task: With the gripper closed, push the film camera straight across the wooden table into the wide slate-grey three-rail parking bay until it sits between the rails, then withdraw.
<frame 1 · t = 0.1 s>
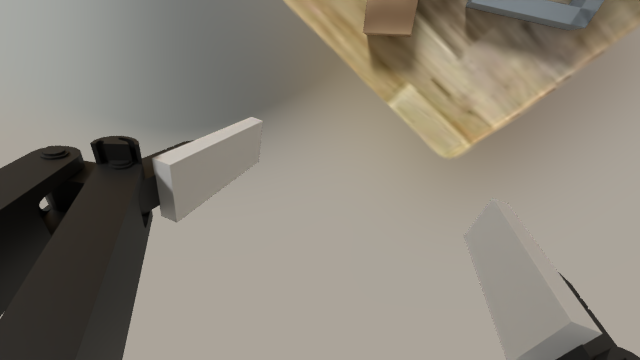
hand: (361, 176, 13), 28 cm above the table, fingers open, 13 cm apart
oak chock block: (390, 18, 32), on the table
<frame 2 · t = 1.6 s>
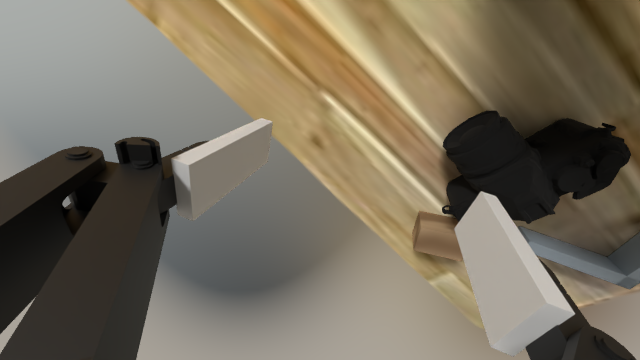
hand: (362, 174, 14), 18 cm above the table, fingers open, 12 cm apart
film camera: (489, 148, 28), on the table
oak chock block: (437, 226, 34), on the table
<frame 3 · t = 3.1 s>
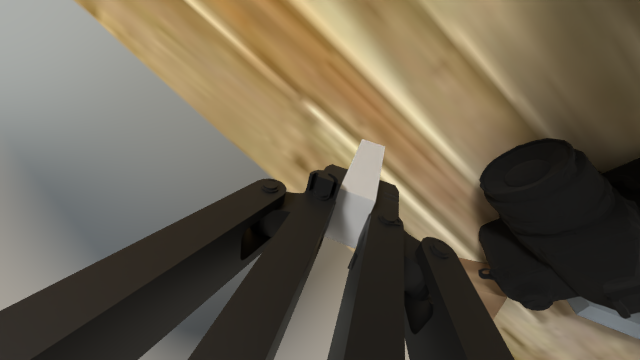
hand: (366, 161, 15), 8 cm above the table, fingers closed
film camera: (543, 185, 20), on the table
oak chock block: (456, 270, 27), on the table
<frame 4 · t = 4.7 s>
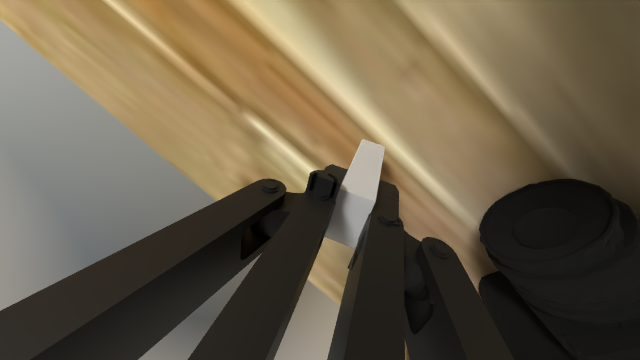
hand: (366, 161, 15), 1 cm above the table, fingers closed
film camera: (562, 232, 16), on the table
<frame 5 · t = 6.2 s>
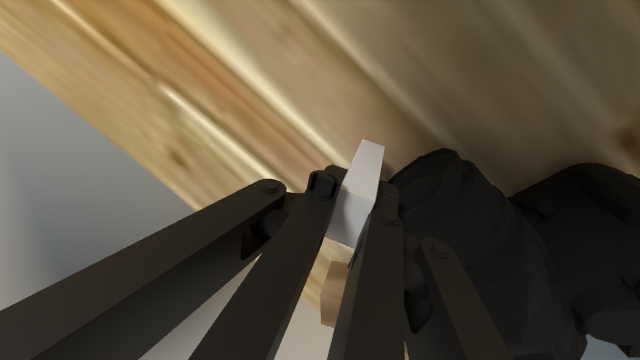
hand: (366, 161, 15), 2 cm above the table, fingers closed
film camera: (459, 203, 17), on the table, touching gripper
oak chock block: (362, 280, 23), on the table
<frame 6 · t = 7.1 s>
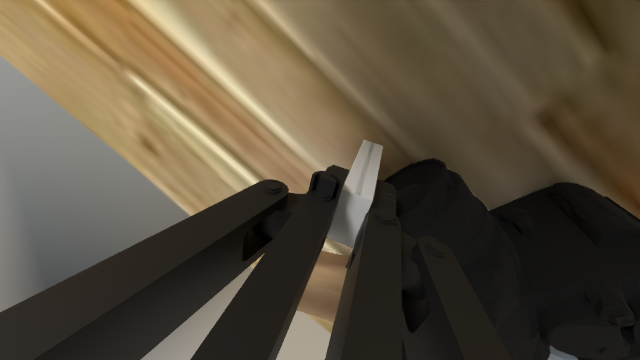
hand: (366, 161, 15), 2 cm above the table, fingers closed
film camera: (445, 212, 17), on the table, touching bay, gripper
oak chock block: (324, 265, 24), on the table
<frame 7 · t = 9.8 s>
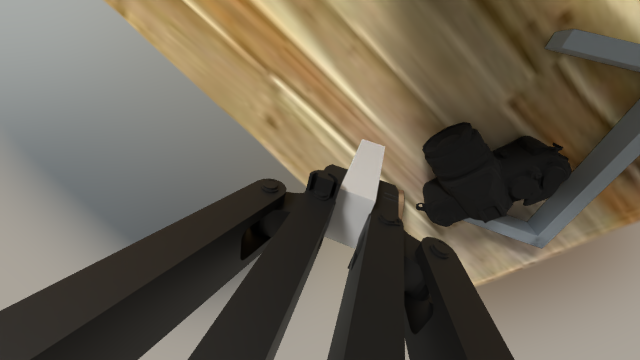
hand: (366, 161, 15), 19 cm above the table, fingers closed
film camera: (463, 156, 31), on the table
bay: (545, 151, 28), on the table
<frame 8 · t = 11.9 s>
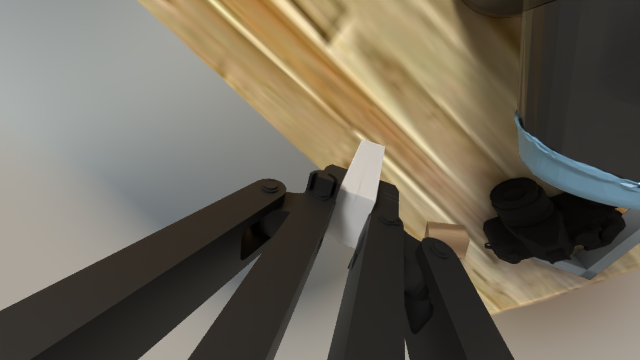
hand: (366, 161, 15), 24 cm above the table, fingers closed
film camera: (521, 200, 37), on the table
oak chock block: (443, 231, 43), on the table
bay: (595, 201, 34), on the table
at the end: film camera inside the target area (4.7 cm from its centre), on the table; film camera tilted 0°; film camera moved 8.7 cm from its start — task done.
